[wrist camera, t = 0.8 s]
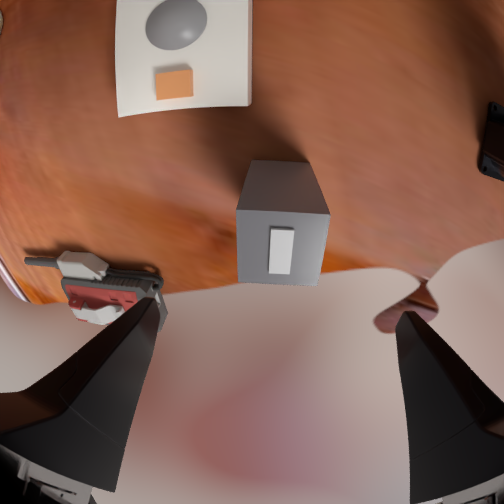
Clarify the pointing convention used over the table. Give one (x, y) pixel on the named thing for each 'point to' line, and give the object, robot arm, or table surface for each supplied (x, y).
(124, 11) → the power strip
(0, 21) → the bread roll
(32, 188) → the table surface
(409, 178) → the table surface
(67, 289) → the walkie-talkie
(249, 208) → the grey rectangular block
